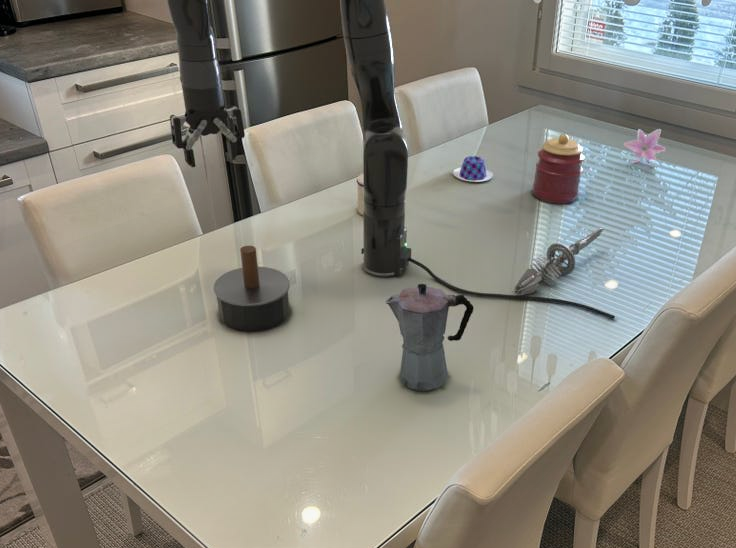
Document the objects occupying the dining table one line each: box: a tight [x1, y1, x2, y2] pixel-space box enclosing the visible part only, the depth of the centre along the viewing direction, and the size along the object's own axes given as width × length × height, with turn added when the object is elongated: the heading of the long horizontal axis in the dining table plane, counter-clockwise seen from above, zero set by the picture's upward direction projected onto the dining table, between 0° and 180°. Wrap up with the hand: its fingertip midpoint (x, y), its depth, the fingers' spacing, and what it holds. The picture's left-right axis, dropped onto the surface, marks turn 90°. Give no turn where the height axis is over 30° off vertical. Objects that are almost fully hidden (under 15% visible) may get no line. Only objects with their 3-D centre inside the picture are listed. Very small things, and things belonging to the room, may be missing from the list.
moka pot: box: [384, 283, 474, 392], centre depth 131 cm, size 10×15×20 cm, turn 95°
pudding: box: [452, 155, 494, 183], centre depth 216 cm, size 12×12×5 cm
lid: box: [213, 245, 291, 306], centre depth 145 cm, size 15×15×9 cm
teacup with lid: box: [356, 173, 364, 216], centre depth 192 cm, size 12×9×12 cm
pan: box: [216, 291, 290, 333], centre depth 150 cm, size 14×14×6 cm
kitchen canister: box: [532, 133, 585, 205], centre depth 204 cm, size 13×13×18 cm
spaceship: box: [512, 227, 604, 296], centre depth 170 cm, size 8×35×8 cm
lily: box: [623, 128, 667, 168], centre depth 234 cm, size 12×12×10 cm
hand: (212, 162), depth 151 cm, fingers open, 8 cm apart
